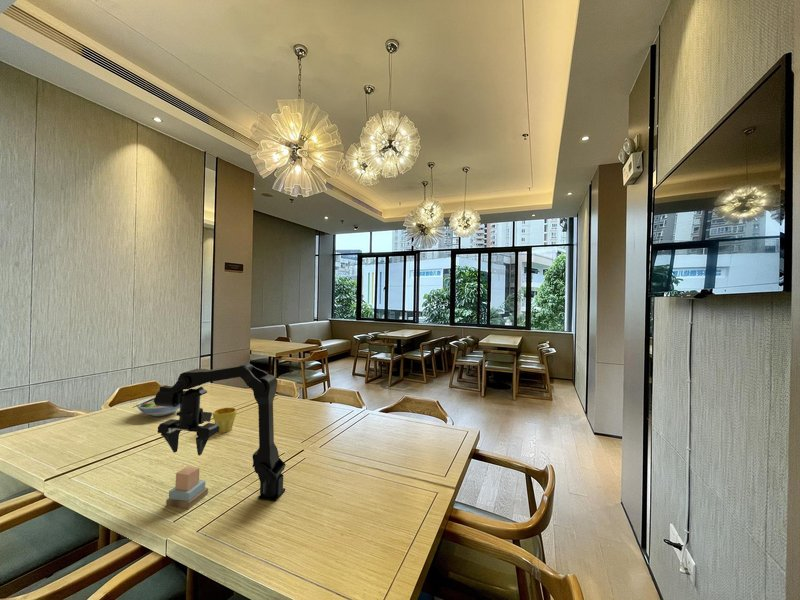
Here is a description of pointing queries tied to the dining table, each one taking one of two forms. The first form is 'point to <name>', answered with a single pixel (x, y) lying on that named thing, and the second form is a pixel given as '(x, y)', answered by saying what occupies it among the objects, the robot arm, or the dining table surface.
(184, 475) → the clay block
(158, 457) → the dining table surface
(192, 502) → the walnut slab
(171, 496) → the blue slab
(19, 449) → the dining table surface
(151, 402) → the ramen bowl
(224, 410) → the plant pot
